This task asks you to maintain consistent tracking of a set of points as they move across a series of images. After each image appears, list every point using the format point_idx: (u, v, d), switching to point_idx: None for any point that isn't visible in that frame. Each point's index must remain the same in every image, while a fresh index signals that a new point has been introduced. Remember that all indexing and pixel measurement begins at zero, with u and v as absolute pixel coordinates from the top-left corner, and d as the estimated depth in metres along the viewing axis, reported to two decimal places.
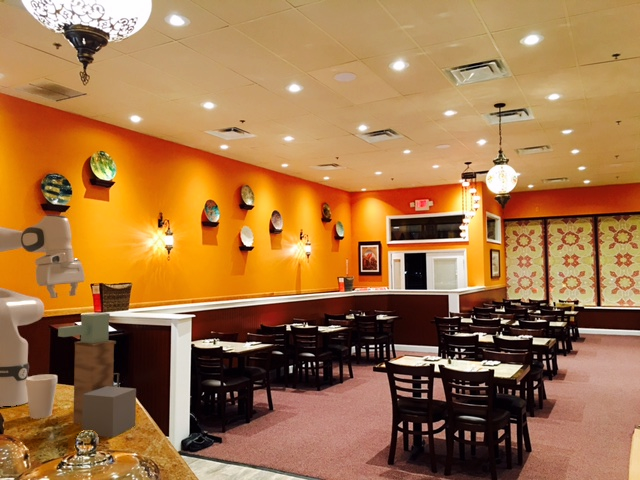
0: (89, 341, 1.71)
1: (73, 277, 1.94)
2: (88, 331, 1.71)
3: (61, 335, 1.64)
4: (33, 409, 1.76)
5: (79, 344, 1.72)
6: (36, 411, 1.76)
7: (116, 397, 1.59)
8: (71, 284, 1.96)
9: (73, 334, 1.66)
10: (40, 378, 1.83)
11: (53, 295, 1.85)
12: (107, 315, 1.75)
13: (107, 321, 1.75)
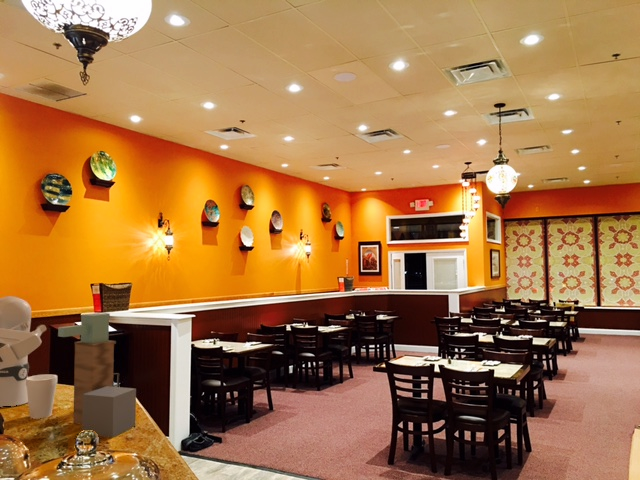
0: (89, 341, 1.71)
1: (5, 332, 1.55)
2: (88, 331, 1.71)
3: (61, 335, 1.64)
4: (33, 409, 1.76)
5: (79, 344, 1.72)
6: (36, 411, 1.76)
7: (116, 397, 1.59)
8: None
9: (73, 334, 1.66)
10: (40, 378, 1.83)
11: (42, 327, 1.55)
12: (107, 315, 1.75)
13: (107, 321, 1.75)
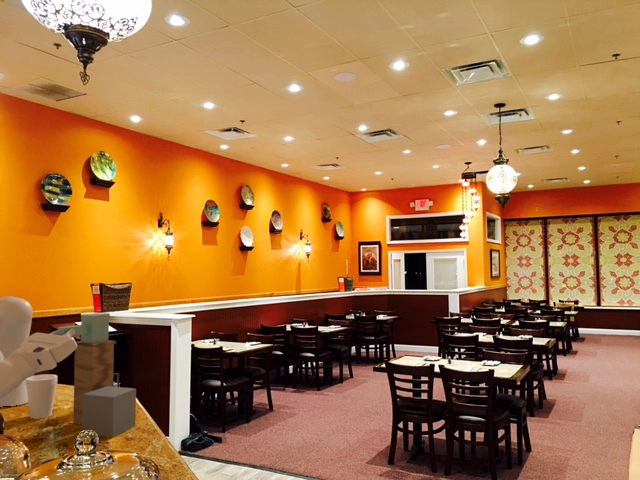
0: (89, 341, 1.71)
1: (41, 336, 1.63)
2: (88, 331, 1.71)
3: (61, 335, 1.64)
4: (33, 409, 1.76)
5: (79, 344, 1.72)
6: (36, 411, 1.76)
7: (116, 397, 1.59)
8: None
9: None
10: (40, 378, 1.83)
11: (71, 331, 1.64)
12: (107, 315, 1.75)
13: (107, 321, 1.75)
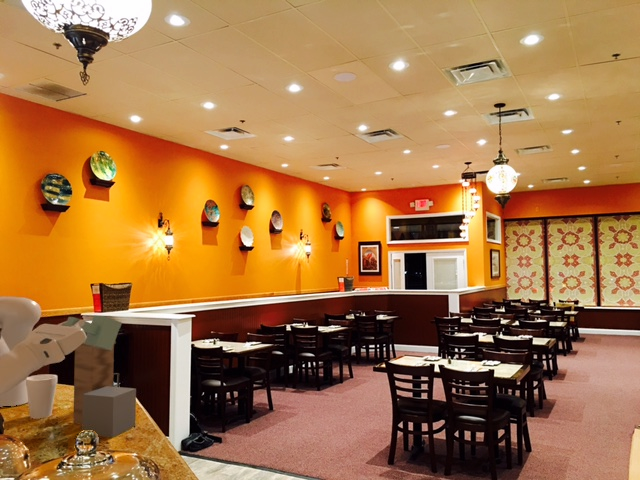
0: (93, 343, 1.60)
1: (49, 328, 1.53)
2: (95, 332, 1.60)
3: (69, 325, 1.54)
4: (33, 409, 1.76)
5: None
6: (36, 411, 1.76)
7: (116, 397, 1.59)
8: None
9: None
10: (40, 378, 1.83)
11: (80, 322, 1.55)
12: (119, 323, 1.66)
13: (117, 329, 1.65)
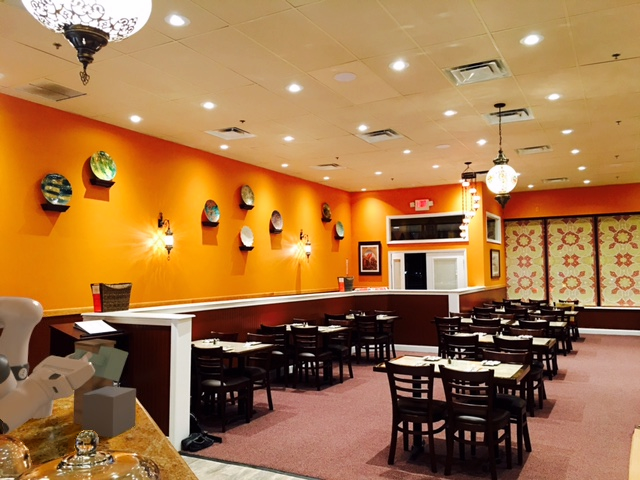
0: (100, 374, 1.60)
1: (57, 361, 1.53)
2: (103, 363, 1.61)
3: (76, 357, 1.54)
4: None
5: (79, 344, 1.72)
6: None
7: (116, 397, 1.59)
8: None
9: (88, 360, 1.56)
10: None
11: (88, 354, 1.55)
12: (126, 353, 1.66)
13: (124, 359, 1.65)
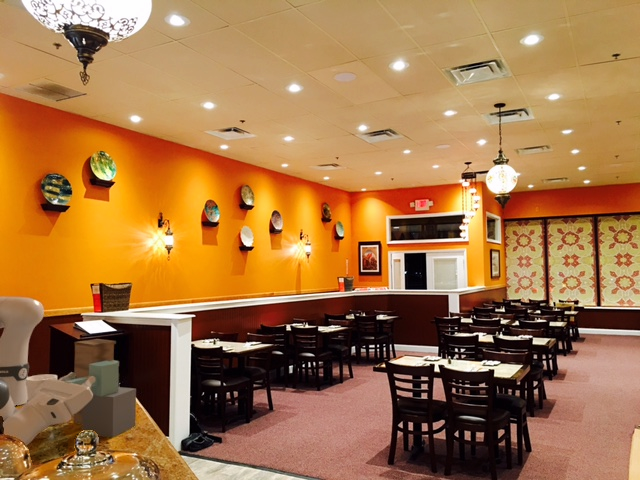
0: (98, 393, 1.59)
1: (55, 384, 1.53)
2: (97, 383, 1.59)
3: None
4: None
5: (79, 344, 1.72)
6: None
7: (116, 397, 1.59)
8: None
9: None
10: (40, 378, 1.83)
11: (91, 378, 1.54)
12: (116, 364, 1.63)
13: (117, 370, 1.63)
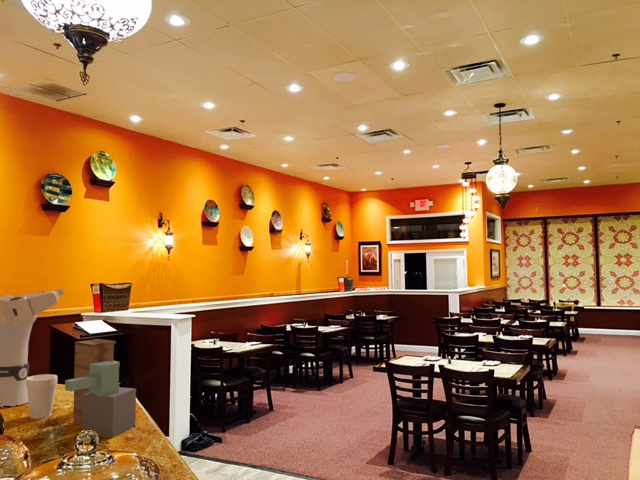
0: (98, 393, 1.59)
1: (22, 296, 1.53)
2: (97, 383, 1.59)
3: (68, 389, 1.53)
4: (33, 409, 1.76)
5: (79, 344, 1.72)
6: (36, 411, 1.76)
7: (116, 397, 1.59)
8: None
9: (81, 387, 1.55)
10: (40, 378, 1.83)
11: (60, 291, 1.53)
12: (117, 364, 1.64)
13: (117, 371, 1.64)
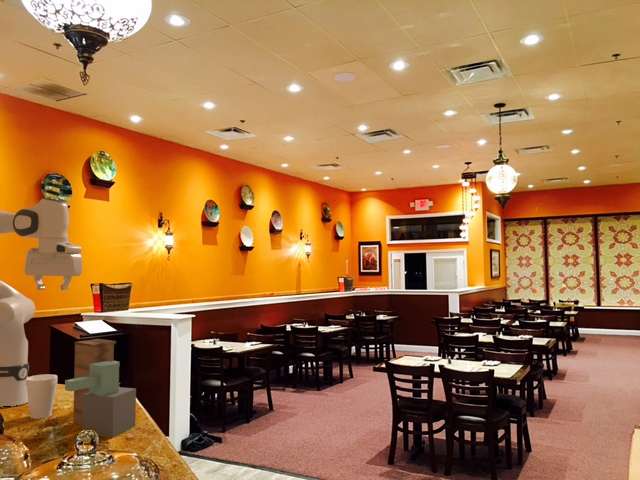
0: (98, 393, 1.59)
1: None
2: (97, 383, 1.59)
3: (68, 389, 1.53)
4: (33, 409, 1.76)
5: (79, 344, 1.72)
6: (36, 411, 1.76)
7: (116, 397, 1.59)
8: (38, 276, 1.74)
9: (81, 387, 1.55)
10: (40, 378, 1.83)
11: (67, 287, 1.71)
12: (117, 364, 1.64)
13: (117, 371, 1.64)
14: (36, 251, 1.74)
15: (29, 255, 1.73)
